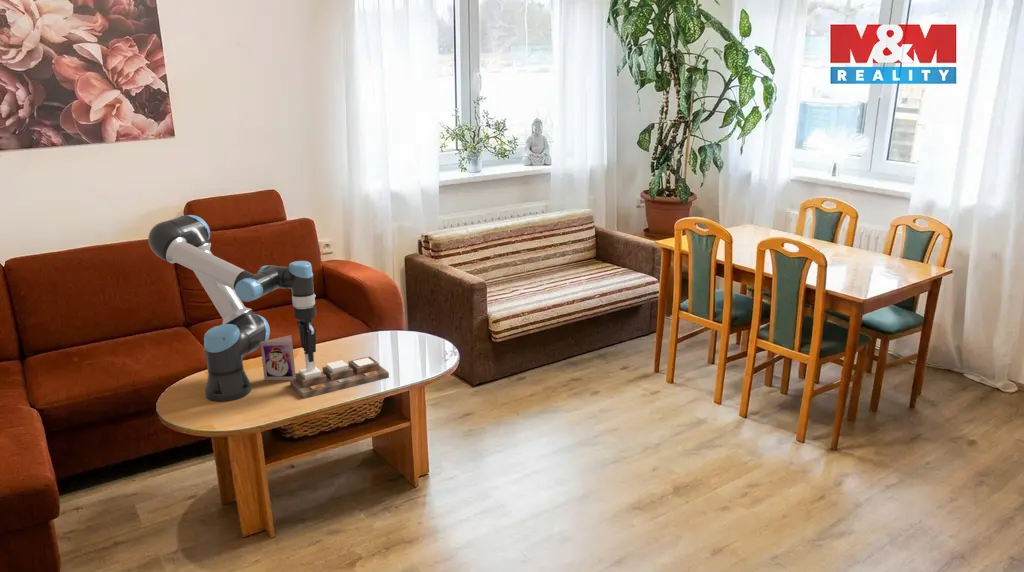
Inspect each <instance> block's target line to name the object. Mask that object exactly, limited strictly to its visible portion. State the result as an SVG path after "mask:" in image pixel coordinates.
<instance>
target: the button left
mask: <svg viewBox="0 0 1024 572" xmlns="http://www.w3.org/2000/svg"><path fill="white" fill-rule="evenodd" d="M319 369H320V368H319V367H317V365H315V369H313V370H309V371H308V370H306V367H305V368H301V369H299V372H300V376H301V377H302V378H303V379H304V380H306V379H311V378H315V377H319V376H322V372H323V370H321V369H320V370H319Z"/></svg>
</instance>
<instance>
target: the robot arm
mask: <svg viewBox="0 0 1024 572" xmlns="http://www.w3.org/2000/svg"><path fill="white" fill-rule="evenodd" d="M210 238H211V229H210V226H209V225H208V223H207V222H206V221H205V220H204V219H203V218H202V217H200V216H198V215H194V214H189V215H188V214H187V215H181V216H179V217H176V218H173V219H169V220H165V221H161V222H158V223H157V224H155V225H154V226H153V227H152V228H151V230H150V231H149V233H148V240H147V241H148V246H149V248H150V250H151V251H152V252H153V253H154V254H155V256H156V257H158V258H159V259H161V260H163V261H165V262H167V263H170V264H175V263H176V264H178V265H181V266H183V267H185V268H186V269H189V270H191V271H193V273H194V275H195V276H196V278H197V279H198V281H199V283H200V284H201V286H202V288H203V289H204V290H205V292H206V293H207V295H208V298H209V299H210V300H211V302H212V303H213V306H215V309H216V310H217V312H218V313H219V315H220V316H221V318H222V324H220V325H216V326H212V327H211V328H209V329H208V330H207V331H206V332H205V333H204V336H203V341H204V343H203V348H204V352H205V360H206V365H207V374H208V375H207V380H206V384H205V388H204V394H205V398H206V399H208V400H210V401H213V400H214V402H229V401H234V400H237V399H240V398H243V397H246V396H247V395H249V393H251V391H252V385H251V381H250V379H249V377H248V375H247V373H246V371H245V369H244V363H243V362H244V360H243V357H245V356H247V355H249V354H250V353H253V352H255V351H256V350H259V349H261V344H260V342H262V341H266V340H270V335H271V330H270V325H269V323H268V320H267V319H266V318H264V317H263V316H261V315H260V314H255V312H254V311H253V309H252V308H250V307H249V308H248V307H246V306H245V305H244V303H243V302H251V301H252V302H253V301H255V300H258V299H259V298H261V297H263V296H265V295H267V294H269V293H271V292H273V291H275V290H277V289H284V290H285V289H286V290H291V291H290V292H291V300H292V306H293V316H294V318H295V319H296V325H297V328H298V332H299V333H298V334H299V337H300V343H301V348H302V349H303V351H304V352H303V353H304V357H305V358H304V360H305V368H306V370H308V371H309V370H313V369H315V366H316V363H315V362H316V361H315V355H314V353H316V351H317V349H316V348H317V347H316V346H317V345H316V342H317V341H316V340H317V339H316V338H317V336H316V335H317V329H316V328H314V325H315V324H314V322H313V318H315V317H317V306H316V297H317V296H316V295H317V294H315V287H314V273H313V267H312V263H311V262H309V261H307V260H295V261H293V262H290V263H289V265H288V266H281V265H280V266H279V265H272V264H271V265H263V266H260V267H259V268H260V269H259V270H258V271H257V273H252V272H249V271H247V270H245V269H243V268H241V267H239V266H237V265H235V264H233V263H230V262H228V261H227V260H225V259H222V258H220V257H218V256H215V255H214V254H213V253H212V251H211V247H212V243H211V241H210Z"/></svg>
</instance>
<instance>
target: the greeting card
mask: <svg viewBox="0 0 1024 572" xmlns="http://www.w3.org/2000/svg"><path fill="white" fill-rule="evenodd" d="M260 344H261V347H260V352H261V361H262V370H263V378H264V381H290V380H291V379H295V378H296V375H295V373H296V367H295V358H294V348H293V338H292V334H291V335H286V336H285V335H284V336H281V337H277V338H272V339H268V340H266V341H262V342H260Z"/></svg>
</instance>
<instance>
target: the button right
mask: <svg viewBox="0 0 1024 572" xmlns="http://www.w3.org/2000/svg"><path fill="white" fill-rule="evenodd" d="M363 358H364V357H363ZM358 359H359V360H356V359H354V360H355V361H353V363H354V364H355V365H356V366H358V367H361V366H366V365H370V364H374V362H373V361H372V360H370V359H369V358H364V359H360V358H358Z"/></svg>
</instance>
